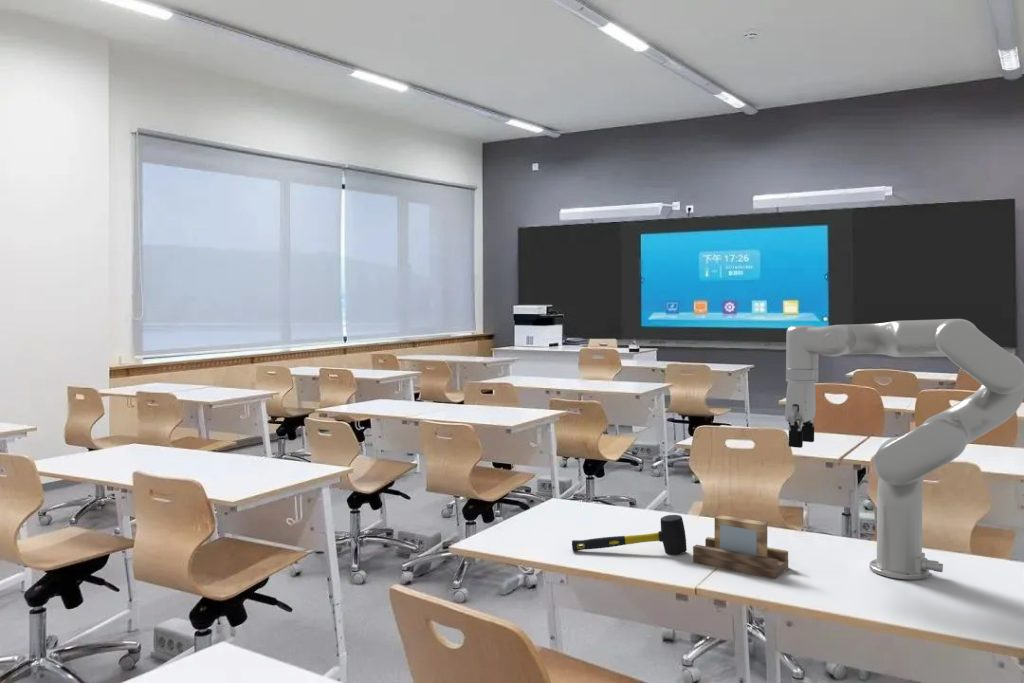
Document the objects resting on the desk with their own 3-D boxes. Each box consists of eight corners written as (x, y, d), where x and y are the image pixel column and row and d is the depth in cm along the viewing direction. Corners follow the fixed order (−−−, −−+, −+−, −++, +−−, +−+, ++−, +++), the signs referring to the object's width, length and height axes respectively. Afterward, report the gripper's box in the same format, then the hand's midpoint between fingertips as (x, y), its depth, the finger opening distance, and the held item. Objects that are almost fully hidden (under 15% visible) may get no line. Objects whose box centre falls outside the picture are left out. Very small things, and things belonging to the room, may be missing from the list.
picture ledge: (788, 567, 189) (788, 550, 188) (774, 578, 181) (774, 560, 180) (708, 552, 200) (708, 536, 200) (692, 562, 192) (692, 545, 192)
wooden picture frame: (767, 559, 188) (767, 522, 188) (762, 563, 186) (762, 525, 185) (719, 550, 195) (719, 514, 195) (714, 554, 193) (714, 517, 193)
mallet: (572, 555, 200) (571, 518, 199) (571, 548, 206) (571, 512, 205) (688, 557, 198) (688, 519, 197) (684, 549, 204) (684, 513, 203)
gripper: (797, 372, 204) (796, 438, 205) (775, 377, 190) (775, 447, 191) (827, 373, 200) (826, 441, 200) (807, 378, 186) (806, 450, 186)
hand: (801, 444), depth 196 cm, fingers open, 9 cm apart
